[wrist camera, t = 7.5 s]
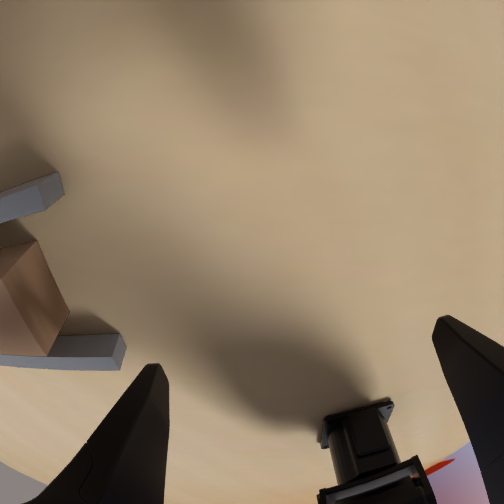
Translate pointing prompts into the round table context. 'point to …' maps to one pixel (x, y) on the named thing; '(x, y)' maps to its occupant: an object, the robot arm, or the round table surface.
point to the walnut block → (28, 302)
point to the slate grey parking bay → (64, 347)
